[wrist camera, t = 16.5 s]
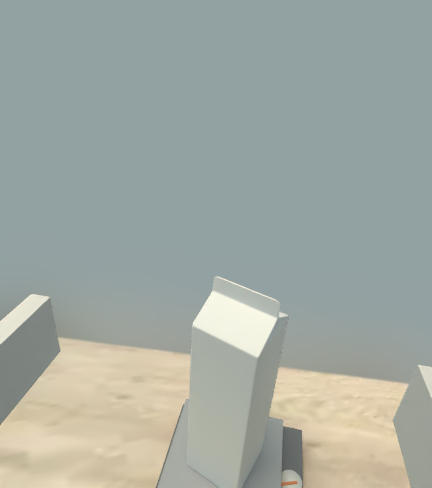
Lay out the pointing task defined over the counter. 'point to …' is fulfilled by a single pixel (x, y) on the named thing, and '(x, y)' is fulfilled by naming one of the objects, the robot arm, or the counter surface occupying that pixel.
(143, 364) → the counter surface
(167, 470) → the kitchen scale
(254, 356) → the milk
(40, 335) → the robot arm
